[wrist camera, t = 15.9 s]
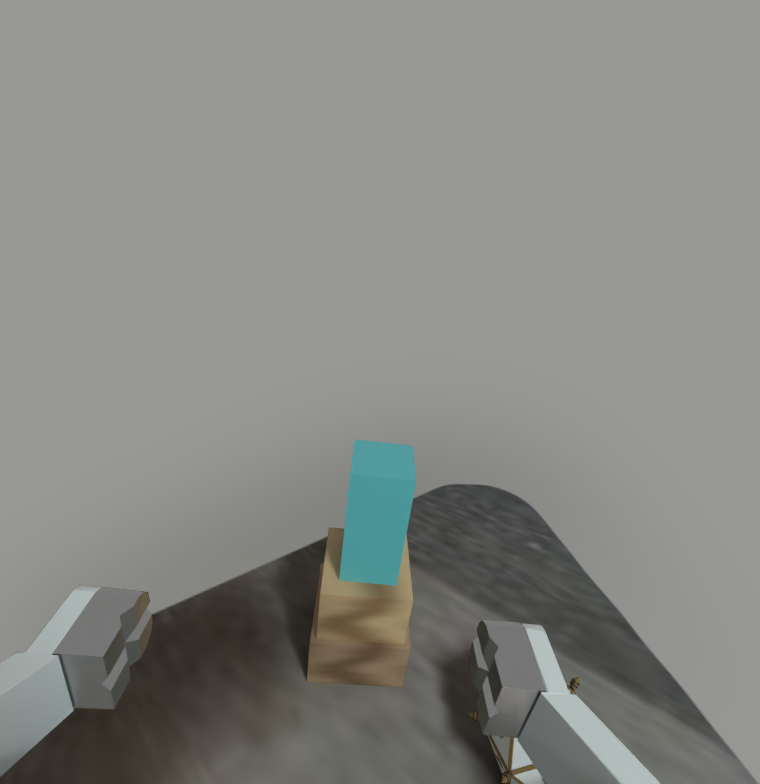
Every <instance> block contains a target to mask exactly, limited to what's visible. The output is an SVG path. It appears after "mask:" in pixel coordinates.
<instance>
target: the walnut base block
mask: <svg viewBox="0 0 760 784" xmlns="http://www.w3.org/2000/svg"><path fill="white" fill-rule="evenodd" d="M323 568H324V563H321V565H320V573H319V580H318V587H317V594H316V601H315V609H314V616H313V623H312V630H311V637H310V646H309V659H308V673H307V682H317V683H336V684H355V685H373V686H392V687H402V686H403V682H404V677H405V673H406V668H407V664H408V659H409V655H410V651H411V647H410V635H409V623H408V628H407V632H406V637H405V642H404V644H391V643H375V642H359V641H342V640H326V639H316V638H317V626H318V614H319V601H320V591H321V583H322V576H323Z"/></svg>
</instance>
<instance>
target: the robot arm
mask: <svg viewBox="0 0 760 784" xmlns="http://www.w3.org/2000/svg"><path fill="white" fill-rule="evenodd" d="M149 602H150V599H149V594H148V592H143V591H134V590H125V589H116V588H107V587H98V586H87V585H80V586H78V587H77V588H76V589H74V590H73V591H72V592H71V593H70V594H69V596H68V597H67V599H66V600H65V601H64V602H63V604H62V605H61V606H60V607H59V609H58V610H57V611H56V613H55V614H54V615H53V617H52V618H51V619H50V620H49V622H48V623H47V624H46V626H45V627H44V628H43V629H42V631H41V632H40V633H39V635H38V636H37V637H36V639H35V640H34V641H33V642H32V644H31V645H30V646H29V648H28V649H27V650H26V652H17V653H15V654H14V655H12V656H11V657H9V658H8V659H6V660H4V661H3V662H1V663H0V777H1V776H2V775H3V774H4V773H5V772H6V771H7V770H8V769H9V768H11V767H12V766H13V765H14V764H15V763H16V762H17V761H18V760H19V759H21V758H22V757H23V756H24V755H25V754H26V753H27V752H28V751H29V750H31V749H32V748H33V747H34V746H35V745H36V744H37V743H38V742H39V741H41V740H42V739H43V738H44V737H45V736H46V735H47V734H48V733H49V732H51V731H52V730H53V729H54V728H55V727H56V726H57V725H58V724H59V723H61V722H62V721H63V720H64V719H65V718H66V717H67V716H68V715H69V714H70V713H72V712H73V711H74V708H92V709H115V708H116V706H117V704H118V702H119V700H120V698H121V696H122V694H123V692H124V690H125V688H126V686H127V684H128V682H129V680H130V678H131V676H130V670H129V667H130V666H131V665H132V664H134V663H135V662H136V661H137V660H139V659H140V658H141V657H142V655H143V653H144V651H145V648H146V646H147V644H148V641H149V638H150V634H151V631H152V614H151V613H150V612H149V611H147V610H146V608H147V606H148V604H149ZM477 633H478V638H477V639H475V640H474V641H473V642H472V645H471V649H470V658H469V665H470V674H471V680H472V684H473V685H474V686H475V687H476V689H477V690H478V691H479V692H480V694H479V697H478V699H477V702H476V705H477V710H478V715H479V720H480V725H481V730H482V735H491V736H501V737H510V738H518V742H519V743H520V745H521V746H522V748H523V749H524V751H525V752H526V754H527V755H528V757H529V758H530V760H531V761H532V763H533V764H534V766H535V767H536V769H537V770H538V772H539V773H540V775H541V776H542V778H543V779H544V781H545V782H546V784H660V783H659V782H658V780H657V779H656V778H655V777H654V776H653V775H652V774H651V773H650V772H649V771H648V770H647V769H646V768H645V767H644V766H643V765H642V764H641V763H640V762H639V760H638V759H637V758H636V757H635V756H634V755H633V754H632V753H631V752H630V751H629V750H628V749H627V748H626V747H625V746H624V745H623V744H622V743H621V742H620V740H619V739H618V738H617V737H616V736H615V735H614V734H613V733H612V732H611V731H610V730H609V729H608V728H607V727H606V726H605V725H604V724H603V723H602V722H601V720H600V719H599V718H598V717H597V716H596V715H595V714H594V713H593V712H592V711H591V710H590V709H589V708H588V707H587V706H586V705H585V704H584V703H583V702H582V701H581V699H580V698H579V697H578V696H577V695H575V694H570V693H569V690H568V688H567V685H566V683H565V680H564V678H563V675H562V673H561V670H560V668H559V665H558V663H557V660H556V658H555V655H554V652H553V650H552V647H551V645H550V642H549V640H548V637H547V635H546V632H545V630H544V628H543V627H542V626H541V625H535V624H520V623H517V622H502V621H488V620H482V621H481V622H479V625H478V628H477Z"/></svg>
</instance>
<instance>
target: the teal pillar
mask: <svg viewBox="0 0 760 784" xmlns="http://www.w3.org/2000/svg"><path fill="white" fill-rule="evenodd" d="M415 483H416V475H415V465H414V456H413V446H409V445H400V444H391V443H381V442H372V441H362V440H355V443H354V451H353V458H352V465H351V472H350V481H349V490H348V500H347V510H346V519H345V528H344V538H343V547H342V557H341V566H340V576H339V580H342V581H352V582H362V583H373V584H383V585H393V586H397V581H398V576H399V570H400V565H401V560H402V554H403V549H404V543H405V538H406V533H407V527H408V522H409V516H410V511H411V506H412V500H413V495H414V489H415Z"/></svg>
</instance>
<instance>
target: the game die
mask: <svg viewBox="0 0 760 784" xmlns="http://www.w3.org/2000/svg"><path fill="white" fill-rule="evenodd" d="M578 685H579V677H577V678H572V681H570V686H567V688H568V690H569V693H570V694H575V695H576V693H575V691H574V689H575V688H577V686H578ZM469 715H470V716H471V717H472V718H473V720H476V721H477V720H479V715H478V712H475V711H474V712H471V713H469ZM487 738H488V740H489V743H490V745H491V748H492V750H493V753H494V756H495V758H496V761H497V763H498V766H499V769H500V771H501V774H502V777H501V779H502V783H505V784H546V782H545V781H544V779H543V778H542V776H541V775H540V773H539V772H538V770H537V769H536V767H535V766H534V764H533V763H532V761H531V760H530V758H529V757H528V755H527V754H526V752H525V751H524V749H523V748H522V746H521V745H520V743H519V742H518V738H510V737H501V736H491V735H487Z"/></svg>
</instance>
